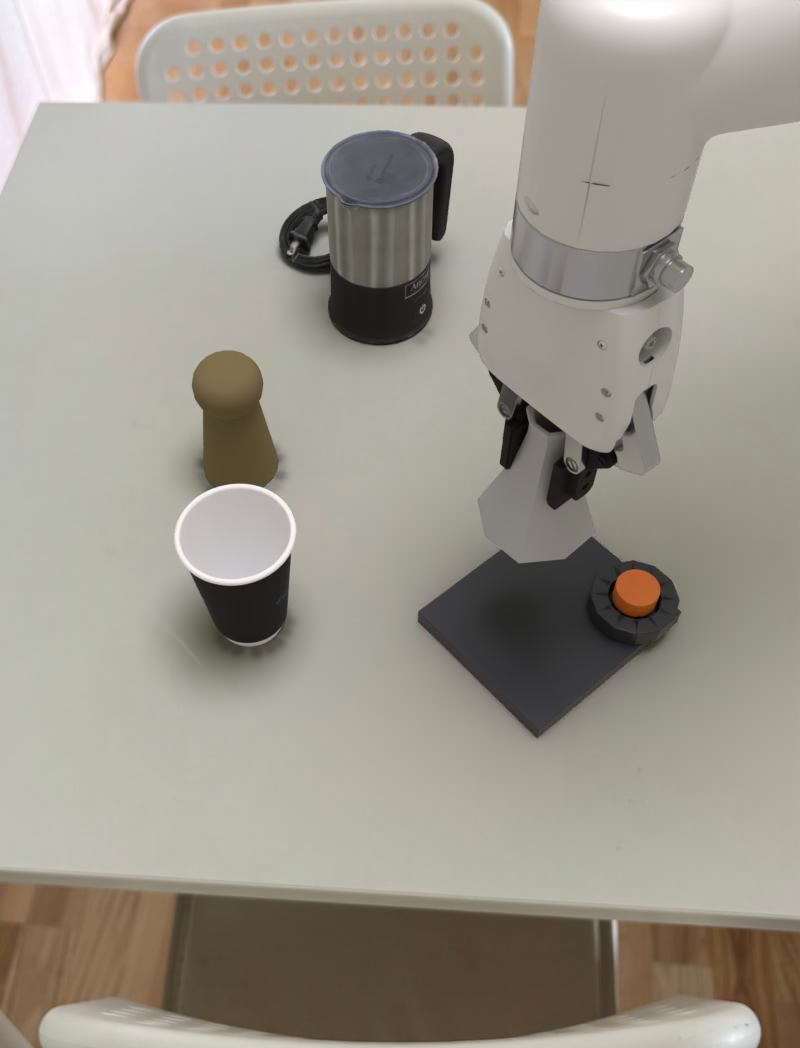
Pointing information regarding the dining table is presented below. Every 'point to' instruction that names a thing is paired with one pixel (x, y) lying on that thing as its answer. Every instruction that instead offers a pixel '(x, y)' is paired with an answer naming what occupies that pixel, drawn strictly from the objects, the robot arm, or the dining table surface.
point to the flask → (534, 501)
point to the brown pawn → (233, 420)
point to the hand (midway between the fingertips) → (544, 473)
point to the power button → (636, 593)
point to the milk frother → (377, 230)
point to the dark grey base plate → (546, 628)
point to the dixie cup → (239, 558)
